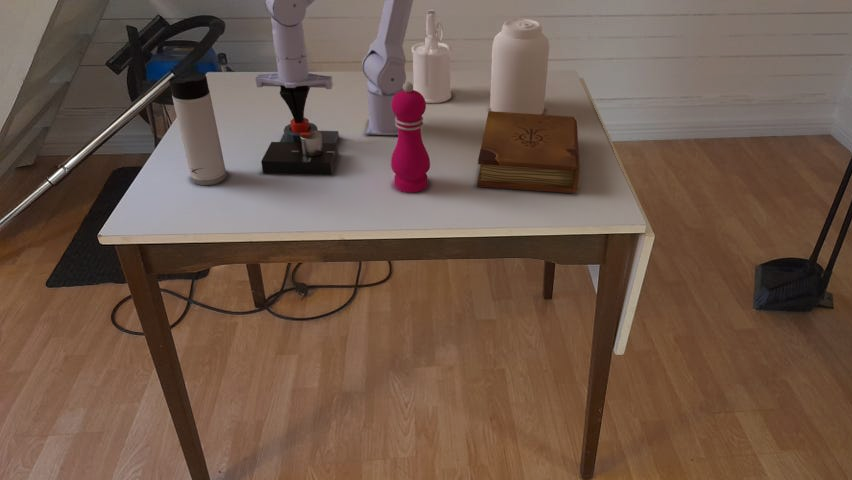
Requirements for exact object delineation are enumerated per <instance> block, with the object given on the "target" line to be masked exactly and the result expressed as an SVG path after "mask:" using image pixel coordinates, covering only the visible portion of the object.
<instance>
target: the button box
mask: <svg viewBox="0 0 852 480" xmlns="http://www.w3.org/2000/svg"><path fill="white" fill-rule="evenodd" d="M309 128H310V130H309V131H318V132H320V133H321V134H322V143H337V144H338V142H339V140H340V139H339V138H340V133H339V132H340V131H338V130H319V129H318V126H317V125H316V124H315V123H313V122H309ZM279 142H301V138H300V133H295V132H292V130H291V123H289V124H287V125H285V127H284V128H283V134H282V136H281V139H280V141H279Z"/></svg>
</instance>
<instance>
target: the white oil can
mask: <svg viewBox="0 0 852 480" xmlns="http://www.w3.org/2000/svg"><path fill="white" fill-rule="evenodd" d="M425 23H426V26H425V27H426V28H425V29H426V30H425V33H426V35H427V36H425V37H424V41H422V42H418V43H415V44H414V45H412V46H411V48H410V49H411V50H410V51H411V52H412V71H413V72H412V77H413V78H412V79H413V90H415V91H417V92H419V93H420V94H421V95H422V96H423V97H424V99H425V103H426V104H440V103H444V102H446V101H448V100H450V99H451V98H452V96H453V95H452V92H451V56H452V55H451V53H452V51H453V49H452V46H451V45H449V44H447V43H445V42H442V41H443V39H444V28H443V24H442V22H440V21H436V11H435V10H434V9H433V8H432V9H428V10H427V11H426V17H425ZM439 27H440V37H439V31H438V29H439Z"/></svg>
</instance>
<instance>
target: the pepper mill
mask: <svg viewBox="0 0 852 480" xmlns="http://www.w3.org/2000/svg"><path fill="white" fill-rule="evenodd" d="M426 109H427V103H425V99H424V97H423V96H422V95H421V94H420V93H419V92H417V91H415V90H414V84H413V83H412V82H410V81H405V84H404V85H403V90H402V91H400V92H398V93H397V94H396V95H395V96H394V97H393V99H392V111H393V113H394V114H395V115H396V117H395V121H396V123H395V125H396V127H397V128H398V135H397V142H396V145H395V148H394V150H393V151H392V153H391V154H392V155H391V158H390V168H391V170H392V172H393V173H394V176H393V179H394V186H395V188H396V189H397V190H398V191H400V192H403V193H411V194H413V193H419V192H422V191H424V190H426V188H427V187H428V185H429V177H428V176H429V175H428V174H427V173H428V172H429V171H430V168H431V160H430V157H429V153H428V150H427V149H426V147H425V144H424V141H423V139H422V138H423V137H422V127H423V126H424V117H423V115H424V114H425V112H426Z"/></svg>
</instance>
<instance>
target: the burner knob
mask: <svg viewBox="0 0 852 480" xmlns="http://www.w3.org/2000/svg"><path fill="white" fill-rule="evenodd" d="M318 131H319V130H318ZM318 131H306V132H303V133H300V138H301V146H302V153H303V154H304V155H305V156H311V157H313V156H318V155H321V154H322V153H323V143H322V134H321V133H320V132H318Z"/></svg>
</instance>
